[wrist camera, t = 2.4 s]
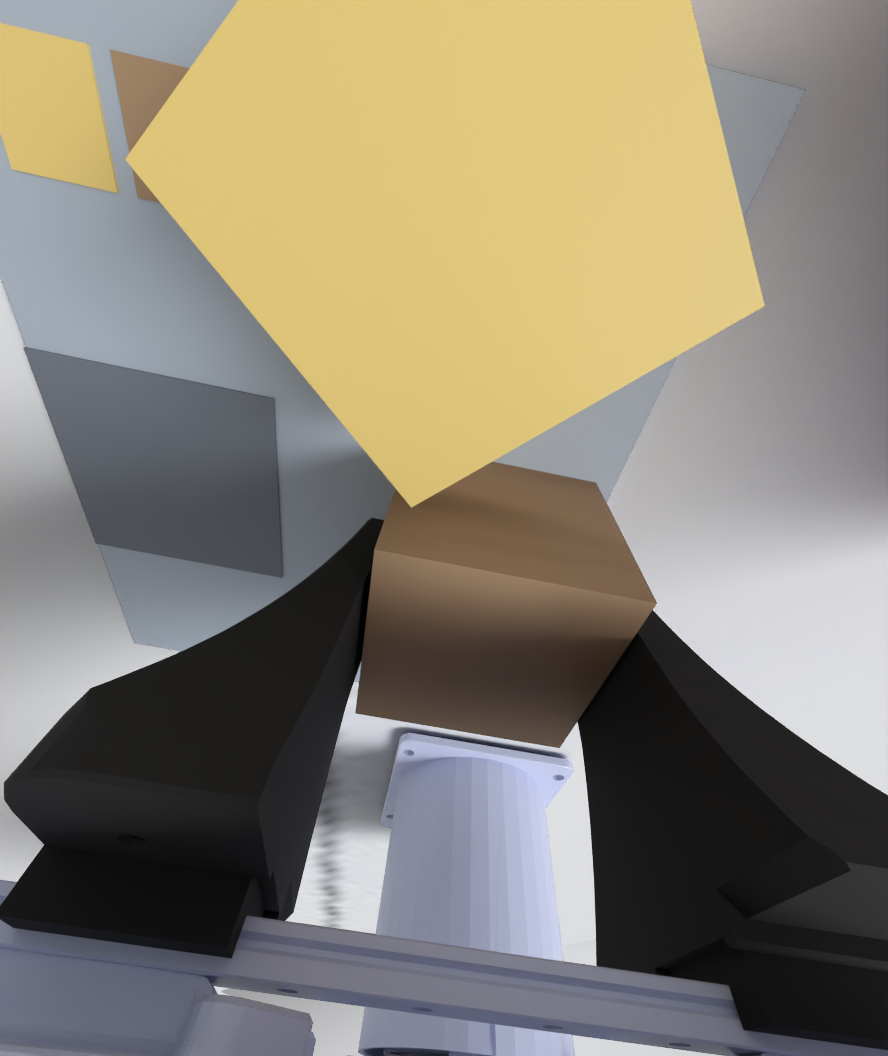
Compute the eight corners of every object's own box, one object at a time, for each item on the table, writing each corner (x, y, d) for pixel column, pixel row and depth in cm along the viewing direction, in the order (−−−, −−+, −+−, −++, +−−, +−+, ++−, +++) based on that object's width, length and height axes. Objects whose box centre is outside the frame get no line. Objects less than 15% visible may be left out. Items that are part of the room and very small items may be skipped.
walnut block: (537, 612, 14) (559, 747, 10) (389, 585, 14) (355, 713, 10) (596, 482, 11) (656, 603, 7) (410, 444, 11) (374, 549, 7)
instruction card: (506, 703, 17) (507, 709, 17) (137, 639, 16) (133, 644, 16) (797, 93, 7) (808, 87, 7) (-143, -148, 6) (-166, -163, 6)
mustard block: (637, 280, 8) (764, 306, 5) (435, 412, 10) (411, 507, 6) (517, -41, 6) (575, -473, 2) (288, 201, 8) (124, 158, 4)
